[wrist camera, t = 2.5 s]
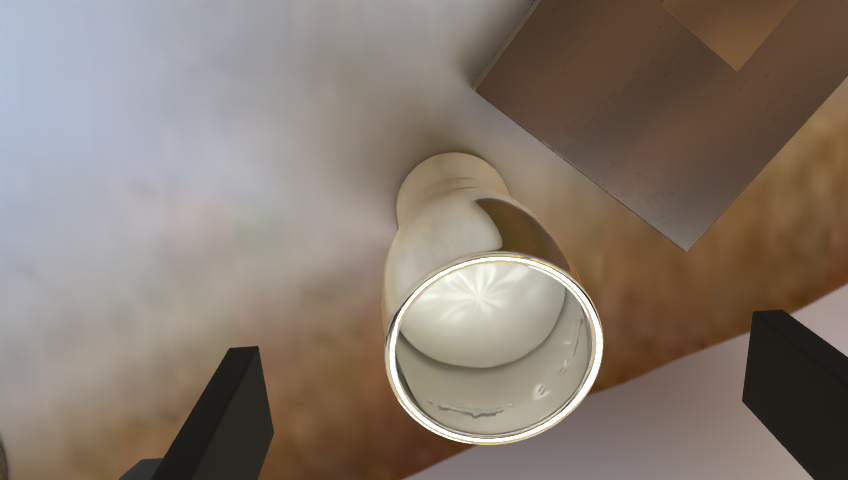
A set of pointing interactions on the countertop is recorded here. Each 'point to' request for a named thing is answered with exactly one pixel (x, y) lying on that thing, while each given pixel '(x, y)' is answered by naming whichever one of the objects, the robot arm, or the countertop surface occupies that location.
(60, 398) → the countertop surface
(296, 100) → the countertop surface
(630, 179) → the serving board
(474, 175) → the beer glass
